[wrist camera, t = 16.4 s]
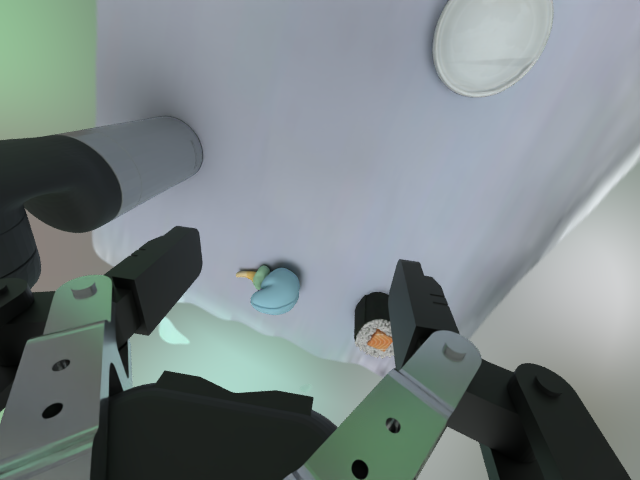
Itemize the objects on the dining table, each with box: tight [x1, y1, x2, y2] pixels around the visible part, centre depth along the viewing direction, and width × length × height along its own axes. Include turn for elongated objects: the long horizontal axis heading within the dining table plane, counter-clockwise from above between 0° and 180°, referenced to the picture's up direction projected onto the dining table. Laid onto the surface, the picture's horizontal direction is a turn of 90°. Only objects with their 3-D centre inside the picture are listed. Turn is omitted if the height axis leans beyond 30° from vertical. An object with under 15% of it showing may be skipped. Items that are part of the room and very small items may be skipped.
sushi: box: [354, 292, 394, 359], centre depth 51 cm, size 8×8×8 cm
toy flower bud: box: [236, 266, 300, 315], centre depth 50 cm, size 7×9×12 cm
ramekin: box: [432, 0, 553, 97], centre depth 32 cm, size 11×11×5 cm
